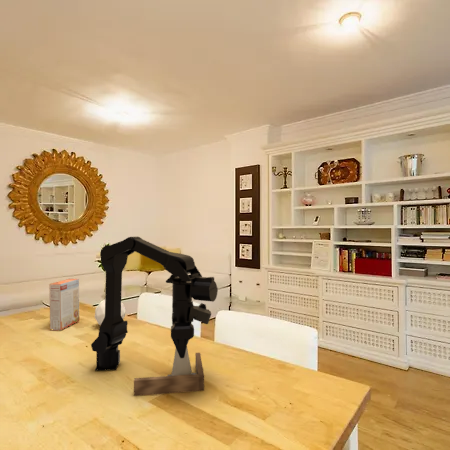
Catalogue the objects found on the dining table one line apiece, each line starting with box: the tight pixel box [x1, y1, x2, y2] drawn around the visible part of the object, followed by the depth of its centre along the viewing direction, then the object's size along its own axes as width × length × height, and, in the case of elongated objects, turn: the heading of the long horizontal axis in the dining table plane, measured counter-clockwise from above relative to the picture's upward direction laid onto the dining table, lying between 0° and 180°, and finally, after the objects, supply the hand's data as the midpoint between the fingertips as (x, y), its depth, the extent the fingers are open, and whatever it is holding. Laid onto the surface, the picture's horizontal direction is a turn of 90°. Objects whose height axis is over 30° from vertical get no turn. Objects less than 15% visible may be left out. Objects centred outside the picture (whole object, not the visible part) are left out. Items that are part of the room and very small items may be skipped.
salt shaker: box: [171, 340, 193, 376], centre depth 94 cm, size 6×6×13 cm
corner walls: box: [133, 352, 205, 397], centre depth 96 cm, size 19×17×4 cm
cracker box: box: [48, 278, 80, 331], centre depth 148 cm, size 14×6×21 cm, turn 172°
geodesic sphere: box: [94, 299, 127, 326], centre depth 147 cm, size 14×14×14 cm
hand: (182, 351), depth 94 cm, fingers open, 9 cm apart
